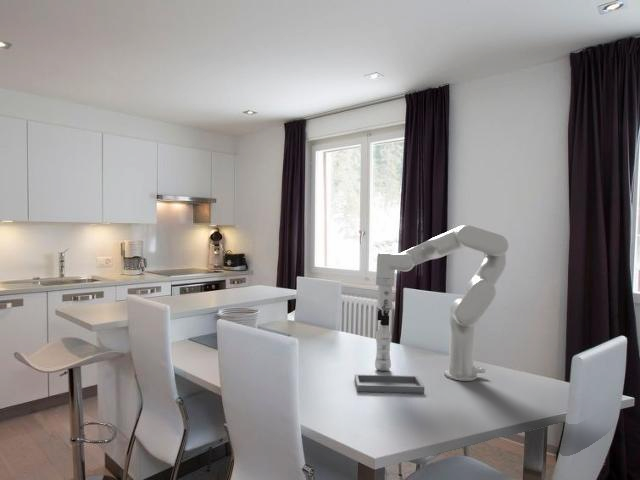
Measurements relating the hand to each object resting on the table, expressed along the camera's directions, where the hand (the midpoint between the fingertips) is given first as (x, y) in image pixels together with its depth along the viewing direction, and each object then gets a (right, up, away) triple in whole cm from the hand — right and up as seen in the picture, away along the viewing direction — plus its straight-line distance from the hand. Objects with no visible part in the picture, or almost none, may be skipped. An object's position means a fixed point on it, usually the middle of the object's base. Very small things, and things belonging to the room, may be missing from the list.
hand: (382, 322), depth 183 cm
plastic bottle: (0, -20, 0) cm, 20 cm away
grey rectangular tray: (-1, -20, -20) cm, 28 cm away
